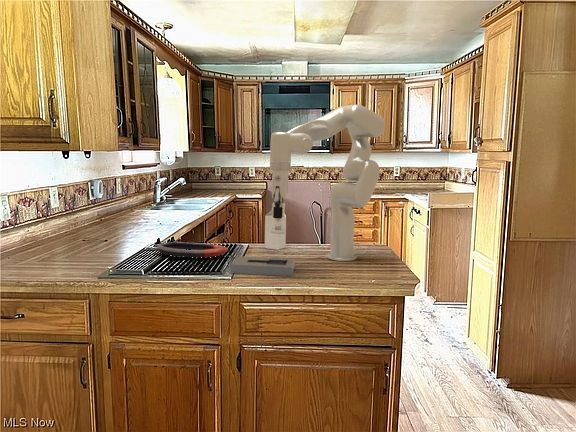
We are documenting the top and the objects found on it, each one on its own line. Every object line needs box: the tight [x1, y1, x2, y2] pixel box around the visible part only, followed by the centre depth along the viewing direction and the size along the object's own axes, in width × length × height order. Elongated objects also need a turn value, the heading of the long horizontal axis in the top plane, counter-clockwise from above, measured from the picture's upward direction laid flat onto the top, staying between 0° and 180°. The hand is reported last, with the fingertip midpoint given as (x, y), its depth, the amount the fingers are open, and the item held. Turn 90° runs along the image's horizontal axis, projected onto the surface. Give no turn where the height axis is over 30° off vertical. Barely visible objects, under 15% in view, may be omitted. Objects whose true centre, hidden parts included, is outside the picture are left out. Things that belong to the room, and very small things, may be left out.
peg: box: [271, 201, 286, 234], centre depth 158 cm, size 5×5×11 cm
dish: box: [156, 240, 229, 257], centre depth 179 cm, size 16×31×5 cm, turn 76°
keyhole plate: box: [229, 255, 296, 277], centre depth 159 cm, size 22×13×3 cm, turn 84°
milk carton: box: [264, 209, 287, 251], centre depth 197 cm, size 7×7×19 cm
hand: (278, 216), depth 158 cm, fingers closed on peg, 4 cm apart
